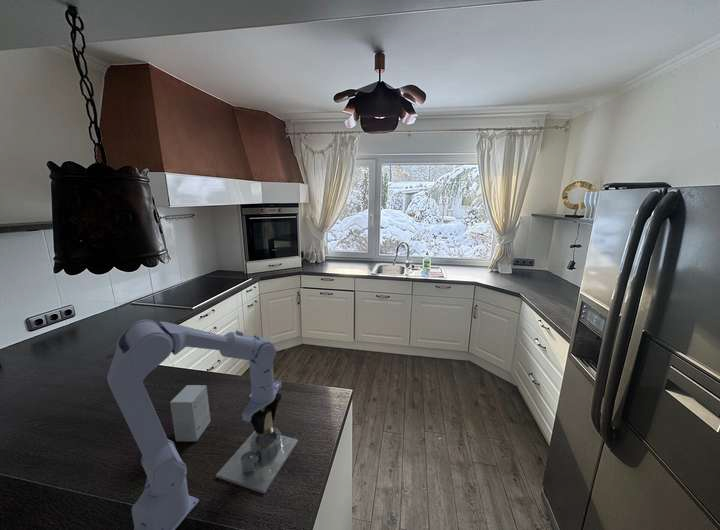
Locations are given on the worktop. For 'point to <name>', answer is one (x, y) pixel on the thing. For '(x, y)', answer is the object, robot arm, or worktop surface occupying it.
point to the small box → (190, 412)
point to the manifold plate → (258, 461)
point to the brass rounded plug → (267, 423)
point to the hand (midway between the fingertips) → (265, 425)
